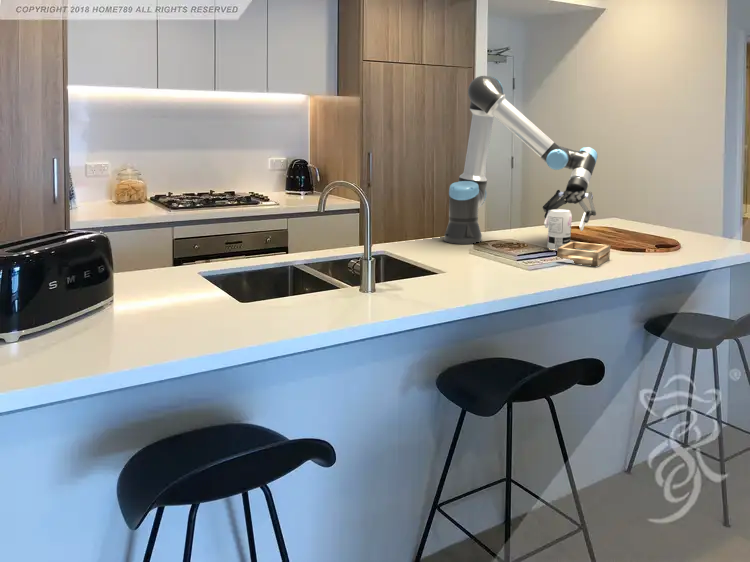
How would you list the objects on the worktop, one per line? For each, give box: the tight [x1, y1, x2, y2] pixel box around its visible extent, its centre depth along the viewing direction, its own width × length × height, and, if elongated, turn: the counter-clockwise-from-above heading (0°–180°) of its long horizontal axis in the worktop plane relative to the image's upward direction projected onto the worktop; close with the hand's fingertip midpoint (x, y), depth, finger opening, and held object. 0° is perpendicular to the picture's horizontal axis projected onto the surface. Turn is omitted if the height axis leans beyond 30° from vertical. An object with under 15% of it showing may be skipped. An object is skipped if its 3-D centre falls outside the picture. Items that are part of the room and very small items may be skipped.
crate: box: [556, 240, 611, 267], centre depth 244 cm, size 14×14×5 cm
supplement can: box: [546, 208, 573, 250], centre depth 261 cm, size 8×8×15 cm
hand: (562, 227), depth 261 cm, fingers open, 13 cm apart
